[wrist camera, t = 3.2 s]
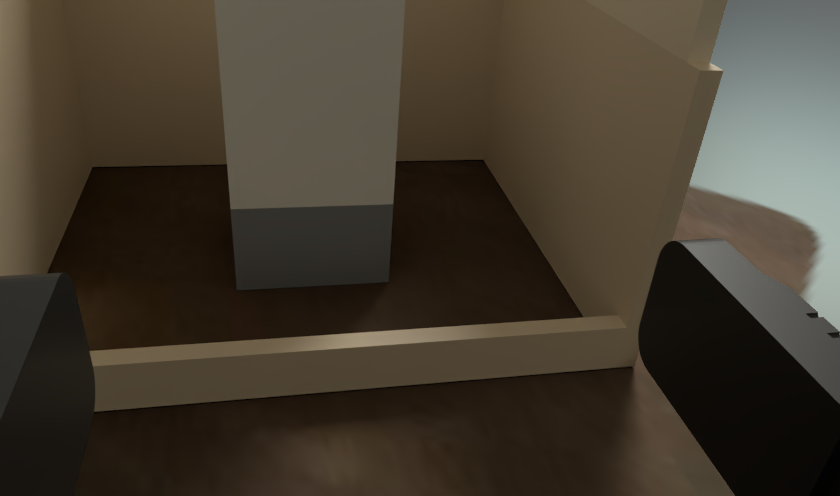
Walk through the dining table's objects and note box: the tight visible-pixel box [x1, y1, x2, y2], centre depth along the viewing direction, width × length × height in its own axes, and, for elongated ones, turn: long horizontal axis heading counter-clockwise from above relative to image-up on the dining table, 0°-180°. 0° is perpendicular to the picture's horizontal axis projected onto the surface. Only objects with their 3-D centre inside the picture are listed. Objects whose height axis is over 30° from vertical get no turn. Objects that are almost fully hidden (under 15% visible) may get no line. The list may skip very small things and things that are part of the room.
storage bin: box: [0, 0, 727, 412], centre depth 22 cm, size 18×15×13 cm
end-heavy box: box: [214, 0, 405, 290], centre depth 22 cm, size 5×5×12 cm
